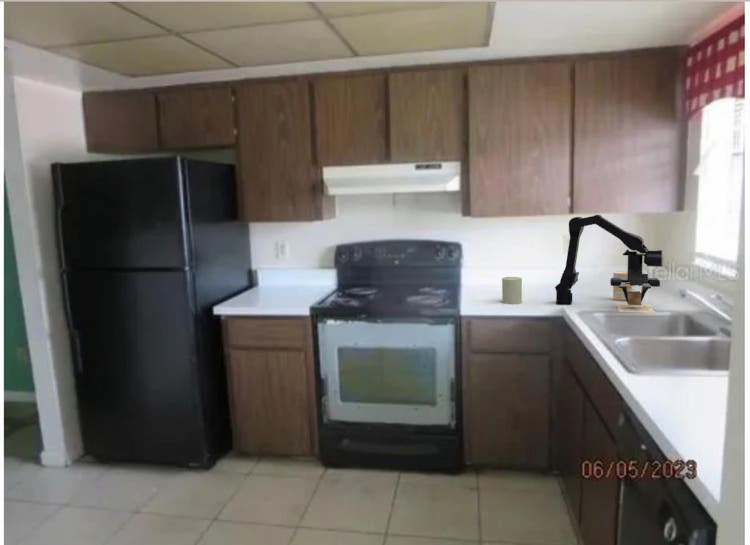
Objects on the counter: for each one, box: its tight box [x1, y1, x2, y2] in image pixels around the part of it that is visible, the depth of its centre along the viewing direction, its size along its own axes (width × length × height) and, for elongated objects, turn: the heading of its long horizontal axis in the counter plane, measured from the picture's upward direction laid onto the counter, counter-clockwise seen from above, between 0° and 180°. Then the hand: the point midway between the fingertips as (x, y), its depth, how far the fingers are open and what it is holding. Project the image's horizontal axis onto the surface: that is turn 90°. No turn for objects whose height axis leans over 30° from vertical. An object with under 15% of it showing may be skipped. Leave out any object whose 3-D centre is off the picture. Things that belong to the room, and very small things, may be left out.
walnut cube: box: [626, 290, 642, 305], centre depth 227 cm, size 5×5×5 cm
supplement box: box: [612, 271, 635, 302], centre depth 244 cm, size 8×5×13 cm, turn 48°
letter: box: [615, 303, 656, 314], centre depth 228 cm, size 14×16×1 cm
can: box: [501, 276, 523, 305], centre depth 250 cm, size 9×9×12 cm
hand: (634, 301), depth 227 cm, fingers closed on walnut cube, 5 cm apart
